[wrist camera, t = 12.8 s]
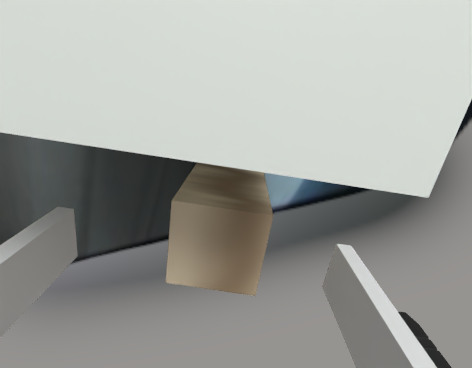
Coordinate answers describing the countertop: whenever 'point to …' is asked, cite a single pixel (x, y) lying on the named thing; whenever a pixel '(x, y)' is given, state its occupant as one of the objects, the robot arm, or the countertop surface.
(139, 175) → the countertop surface
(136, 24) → the cabinet
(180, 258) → the wooden rectangular block
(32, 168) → the countertop surface
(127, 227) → the countertop surface
